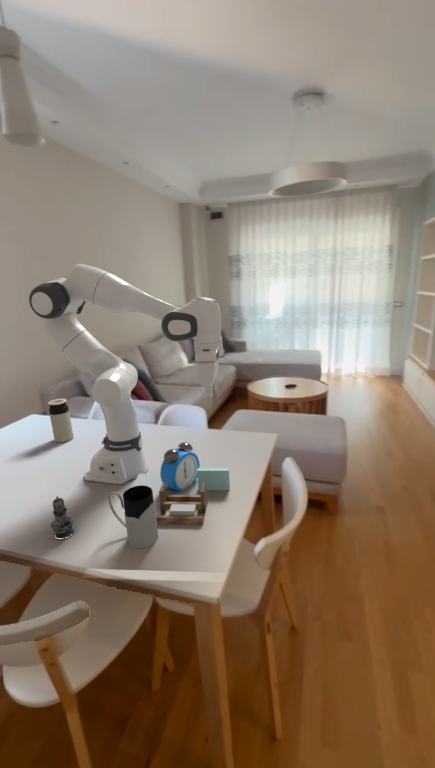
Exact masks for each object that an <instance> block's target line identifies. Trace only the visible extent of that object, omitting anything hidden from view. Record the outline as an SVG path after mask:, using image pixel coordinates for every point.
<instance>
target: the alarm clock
mask: <svg viewBox="0 0 435 768" xmlns="http://www.w3.org/2000/svg"><path fill="white" fill-rule="evenodd" d="M177 446H178V447H176V448H172V449H171V448H170V449H168V450H166V451H165V453H164V455H163V461H162V463H161V465H160V471H159V472H160V474H159V475H160V479H161V482H162V484H163V483H166V487H167V488H169V489H172V490H174V491H177V492H182V491H184V490H185V488H187V487H188V486H190V485H192V484H194V483H196V481H197V480H198V477H197V469H198V468H201V467H200V466H201V465H200V459H199V457H198V454H196V452H194V451H193V450H194V447H193V445H192V444H191V443H189V442H188V441H185V442H180V443H179V444H178V445H177Z"/></svg>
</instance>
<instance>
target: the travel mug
mask: <svg viewBox="0 0 435 768" xmlns="http://www.w3.org/2000/svg"><path fill="white" fill-rule="evenodd" d="M67 400H68V399H66V398H56V399H52V400H50V401H48V403H47V404H48V405H49V408H48V412H49V417H50V422H51V428H52V434H53V438H54V442H55V443H66V442H69V441H71V440H72V439H73V438H74V431H73V427H72V421H71V420H72V419H71V414H70V409H69V406H68V405H67Z"/></svg>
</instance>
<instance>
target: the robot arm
mask: <svg viewBox="0 0 435 768" xmlns="http://www.w3.org/2000/svg"><path fill="white" fill-rule="evenodd" d="M28 302H29V306H30V309H31V310H32V312H33V313H34V314H35V315H36V316H38V317H40V318H42V319H45V321H44V323H43V331H44V333H45V334H46V336H47V337H48V338H49V339H50V341H51V342H52V343H53V345H54V346H55V347H56V348H57V349H58V350H59V351H60V352H61V353H62V355H64V356H65V357H66V358H67V359H68V360H69V361H70V362H71V363H72V364H73V365H74V366H75V367H76V368H77V369H78V370H79V371H81V372H85V373H87V374H90V375H91V376H93V377H94V378H96V379H95V381H94V383H93V386H92V389H91V395H92V397H93V400H94V401H95V402H96V403H97V404H98V405H99V406H100V409H101V412H102V414H103V418H104V422H105V429H106V434H105V437H103V440H102V441H101V446H102V447H101V448H100V449H98V451H96V452H95V453H94V454H93V456H92V457H91V459H90V463H89V466H88V468H87V469H86V470H85V472H84V480H85V481H89V482H90V481H92V482H97V483H98V482H99V483H108V484H115V485H122V484H125V483H127V482H128V481H131V480H134V479H137V478H138V476H139V475H140V474H141V475H143V474H146V472H147V471H148V470H149V465H148V463H147V461H146V459H145V455H144V451H143V440H142V433H141V431H140V427H139V426H140V425H139V419H138V418H139V417H138V413H137V410H135V408H134V405H133V402H132V398H131V394H132V393H131V392H132V391H133V389H134V388H135V387H136V386H137V382H138V379H139V378H138V376H139V373H138V370H137V368H136V367H135V366H134V365H133V364H131V363H129V362H126V361H124V360H122V359H121V358H120V357H119V356H117V355H116V354H114V353H113V352H111V350H109V349H107V348H106V347H105V346H104V345H103V344H101V342H100V341H98V339H97V338H95V336H93V335H92V334H91V332H90V331H88V329H86V328H85V327H84V326H83V324H82V323H81V322H80V321H79V320H78V318H77V315H81V313H82V311H83V309H84V306H85V305H86V303H88V304H90V305H93V306H95V307H97V308H98V309H101V310H104V311H107V312H112V313H115V314H122V313H125V314H126V313H140V314H144V315H147V316H149V317H151V318H154V319H156V320H159V321H160V322H161V325H160V326H161V331H162V334H163V335H164V336H165V337H166V338H167V339H169V340H170V341H172V342H183V341H187V340H190V339H193V347H194V348H193V349H194V361H195V363H196V364H197V372H198V379H199V380H198V381H199V384H200V387H202V388H204V390H205V393H206V395H205V396H206V398H210V399H211V398H213V395H214V394H213V389H216V387H217V385H216V379H217V376H218V373H219V369H220V368H219V366H220V365H219V361H220V357H222V356H223V355H224V347H223V346H224V345H223V337H222V333H221V332H222V326H223V324H222V314H221V307H220V304H219V303H218V301H217V300H216V299H214V298H211V297H206V296H195V297H193V298H192V300H190V301H189V302H187V303H186V304H184V305H177V304H176V305H175V304H173V303H170V302H167V301H165V300H162V299H160V298H158V297H155V296H153V295H151V294H148V293H147V292H144V291H142V289H139V288H138V287H136V286H134V285H132V284H131V283H129V282H127V281H126V280H124V279H122V278H120V277H119V276H117V275H114V274H113V273H111V272H109V271H106V270H103V269H101V268H98V267H96V266H92V265H88V264H84V263H77V264H75V265H73V266H72V267H70V269H69V271H68V273H67V276H64V277H59V278H55V279H51V280H49V281H47V282H43V283H40V284H38V285H36V286H35V287H34V288H33V289H32V290H31V292H30V293H29V296H28Z"/></svg>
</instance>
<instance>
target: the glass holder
mask: <svg viewBox="0 0 435 768" xmlns="http://www.w3.org/2000/svg"><path fill="white" fill-rule="evenodd" d="M112 495H116V496H117V497H118V499H119V501H120V506H121V508H122V509H123V510H124V519H125V521H124V520H123V519H122V518H121V516H119V514H118V513H117V511H116V510H115V508H114V506H113V503H112V500H111V499H112V498H111V496H112ZM107 500H108V505H109V507H110V510H111V512H112V513H113V516H114V517H115V518H116V520H118V522H119V523H120V524H121V525H123V527H125V529H126V532H127V533H126V534H127V542H128V544H129V545H130V547H132V548H135V549H145V548H148V547H150V546H152V545H154V544H155V543H156V542H157V541H158V538H159V529H158V524H157V519H156V517H157V514H156V504H155V501H154V492H153V488H152V487H150V486H148V485H142V484H141V485H135V486H132V487H130V488H128V489H126V490H125V491H124V492H123V494H122V496H121V494H120V493H118V492H117V491H111V492H110V493H109V494H108V495H107Z"/></svg>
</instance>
